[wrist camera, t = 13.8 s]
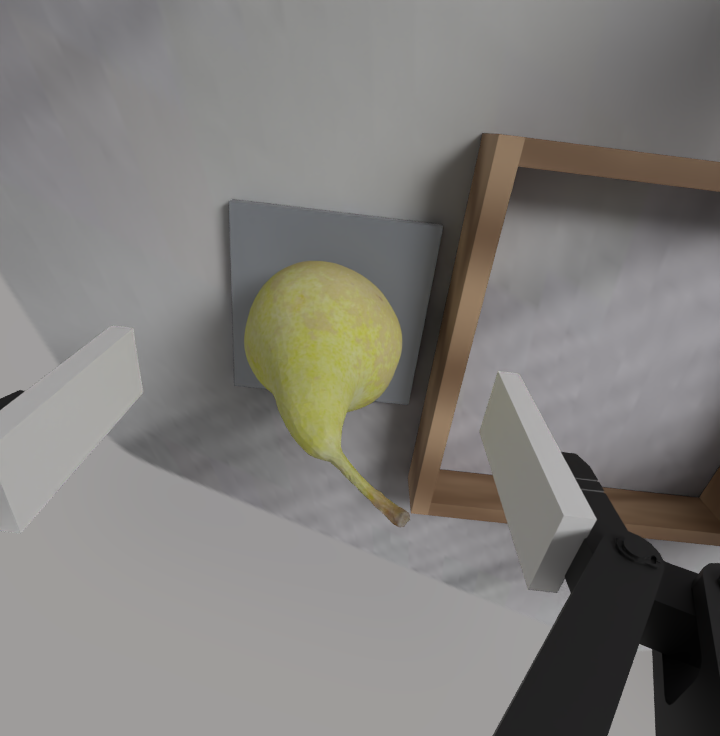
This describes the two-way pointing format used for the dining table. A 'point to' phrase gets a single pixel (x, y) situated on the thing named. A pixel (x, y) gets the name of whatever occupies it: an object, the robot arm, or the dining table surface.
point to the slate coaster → (341, 246)
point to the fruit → (324, 357)
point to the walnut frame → (462, 309)
